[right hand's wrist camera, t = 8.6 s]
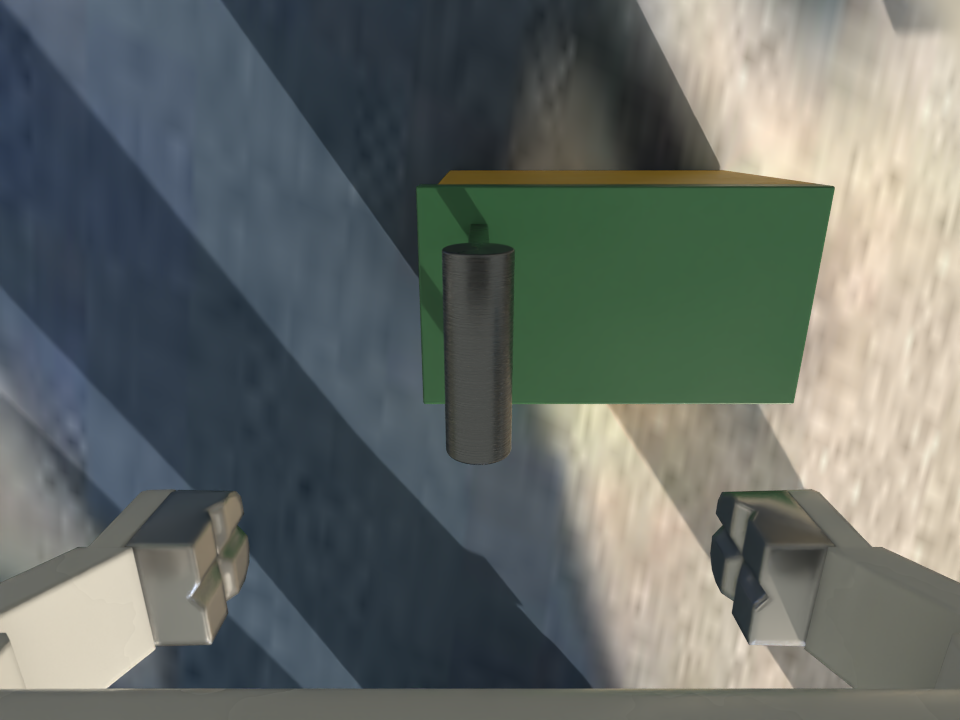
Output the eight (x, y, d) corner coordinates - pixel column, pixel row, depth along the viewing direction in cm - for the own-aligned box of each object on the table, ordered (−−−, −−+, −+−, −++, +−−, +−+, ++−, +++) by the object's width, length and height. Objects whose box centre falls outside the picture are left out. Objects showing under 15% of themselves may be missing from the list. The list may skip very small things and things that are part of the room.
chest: (452, 326, 37) (442, 393, 27) (449, 170, 34) (436, 183, 24) (703, 326, 37) (780, 393, 27) (723, 170, 34) (819, 183, 24)
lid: (425, 393, 27) (402, 500, 19) (418, 184, 24) (387, 208, 16) (781, 393, 27) (905, 500, 19) (819, 183, 24) (987, 208, 16)
